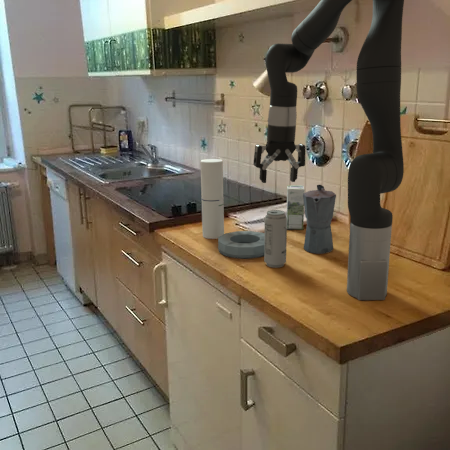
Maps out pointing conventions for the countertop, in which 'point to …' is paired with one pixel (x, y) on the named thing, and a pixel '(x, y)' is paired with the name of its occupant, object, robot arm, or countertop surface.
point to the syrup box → (295, 207)
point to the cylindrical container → (212, 198)
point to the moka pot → (319, 220)
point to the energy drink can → (275, 238)
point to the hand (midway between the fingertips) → (278, 181)
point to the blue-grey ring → (242, 244)
